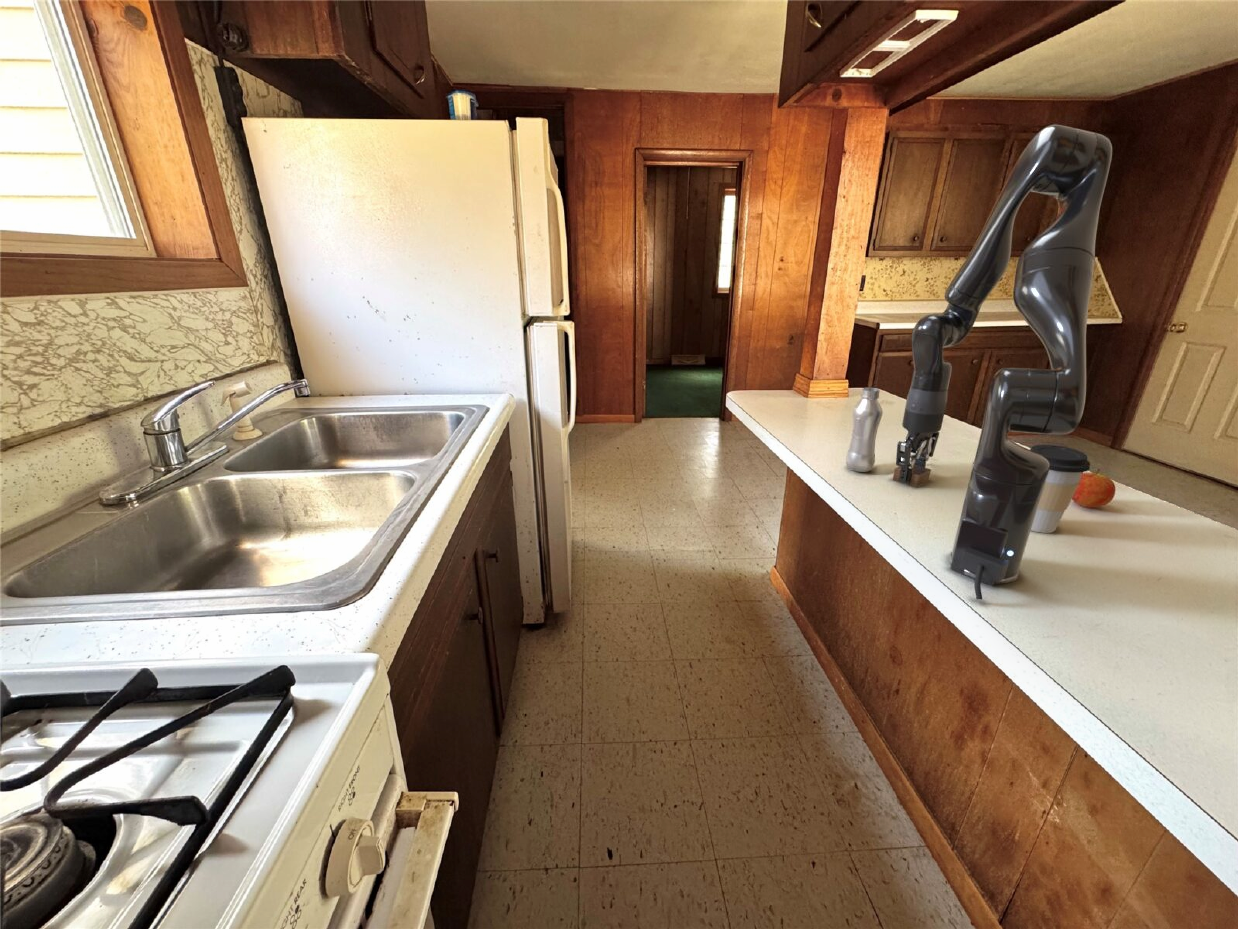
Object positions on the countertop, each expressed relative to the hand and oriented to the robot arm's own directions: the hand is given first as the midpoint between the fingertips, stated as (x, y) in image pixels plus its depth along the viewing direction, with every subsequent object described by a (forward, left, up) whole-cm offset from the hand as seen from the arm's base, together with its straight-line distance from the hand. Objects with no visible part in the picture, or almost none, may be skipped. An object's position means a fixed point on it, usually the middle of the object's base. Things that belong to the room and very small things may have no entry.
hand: (911, 478), depth 117 cm
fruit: (+14, -28, -1) cm, 31 cm away
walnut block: (0, 0, 0) cm, 0 cm away
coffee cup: (-3, -25, -1) cm, 25 cm away
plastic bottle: (-3, +11, -1) cm, 11 cm away
